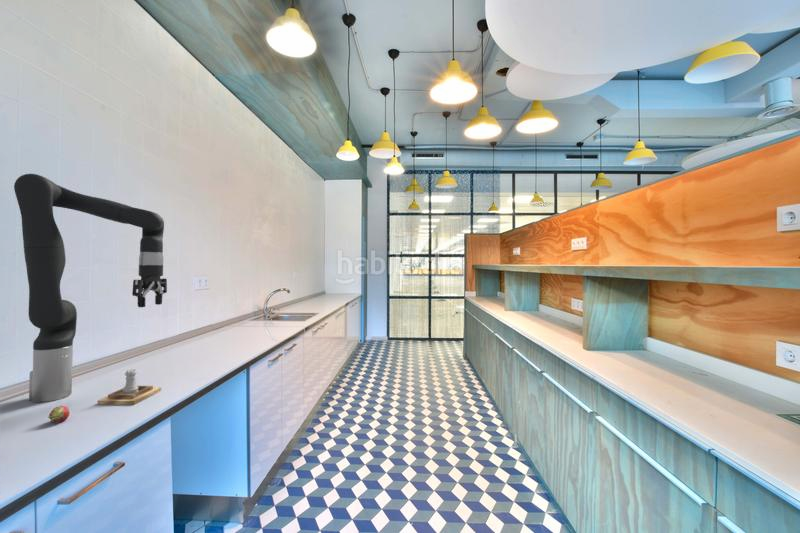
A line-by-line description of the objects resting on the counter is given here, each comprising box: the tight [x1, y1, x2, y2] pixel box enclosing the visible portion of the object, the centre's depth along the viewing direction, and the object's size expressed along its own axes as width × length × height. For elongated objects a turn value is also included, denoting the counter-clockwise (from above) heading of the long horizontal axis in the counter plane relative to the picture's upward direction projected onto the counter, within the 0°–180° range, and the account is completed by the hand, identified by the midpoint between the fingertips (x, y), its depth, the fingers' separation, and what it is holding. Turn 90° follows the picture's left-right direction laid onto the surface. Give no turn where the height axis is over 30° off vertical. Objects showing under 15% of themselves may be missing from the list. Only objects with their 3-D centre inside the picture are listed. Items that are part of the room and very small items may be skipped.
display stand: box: [97, 385, 162, 406], centre depth 111 cm, size 12×12×2 cm
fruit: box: [47, 405, 70, 423], centre depth 93 cm, size 4×6×5 cm
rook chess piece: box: [122, 369, 139, 394], centre depth 111 cm, size 4×4×8 cm
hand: (150, 305), depth 124 cm, fingers open, 8 cm apart
